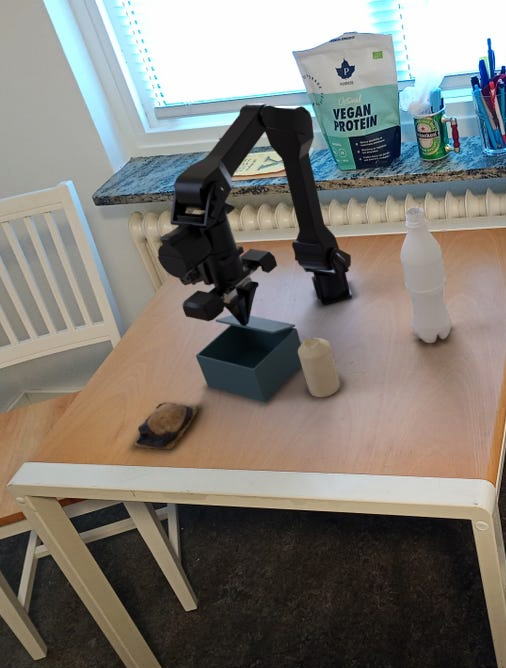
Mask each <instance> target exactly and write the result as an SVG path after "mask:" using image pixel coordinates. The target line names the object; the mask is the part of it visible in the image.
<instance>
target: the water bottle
mask: <svg viewBox="0 0 506 668" xmlns="http://www.w3.org/2000/svg"><path fill="white" fill-rule="evenodd" d="M405 218H406V219H405V228H406V230H407V232H406V235H405V238H404V240H403V243H402V246H401V249H400V262H401V267H402V272H403V278H404V286H405V289H406V290H407V292H408V294H409V296H410V300H411V303H412V311H413V312H412V319H411V327H412V331H413V333H414V334H415V336H416V337H417V338H418V339H421V340H422V341H423V342H424V343H427V344H433V343H435V342H436V340H437V338H438V337H439V339H441V340H445V339H447V337H448V336H449V334H450V331H451V327H452V317H451V314H450V312H449V310H448V308H447V305H446V301H445V296H444V290H445V286H446V284H447V283H446V282H447V280H446V276H445V269H444V262H443V251H442V247H441V245H440V243H439V242H438V241H437V239H436V238H435V236H434V235H432V233H431V232H430V230H429V229H428V227H427V224H428V221H427V219H426V216H425V211H424V208H423V207H420V206H413V207H410V208H408V209H406V210H405Z"/></svg>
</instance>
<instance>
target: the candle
mask: <svg viewBox="0 0 506 668" xmlns="http://www.w3.org/2000/svg"><path fill="white" fill-rule="evenodd" d="M298 355H299V358H300V361H301V369H302V372H303V375H304V377H305V381H306V386H307V388H308V392H309V393H310V394H311V395H312V396H313V397H316V398H325V397H329V396H332V395H333V394H335V393H337V391H338V390H339V389H340V385H341V383H340V378H339V375H338V371H337V367H336V363H335V360H334V355H333V351H332V348H331V343H330V342H329V341H328V340H326V339H324V338H320V337H307V338H305V339H304V340H303V342H301V346H300V347H299V349H298Z"/></svg>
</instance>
